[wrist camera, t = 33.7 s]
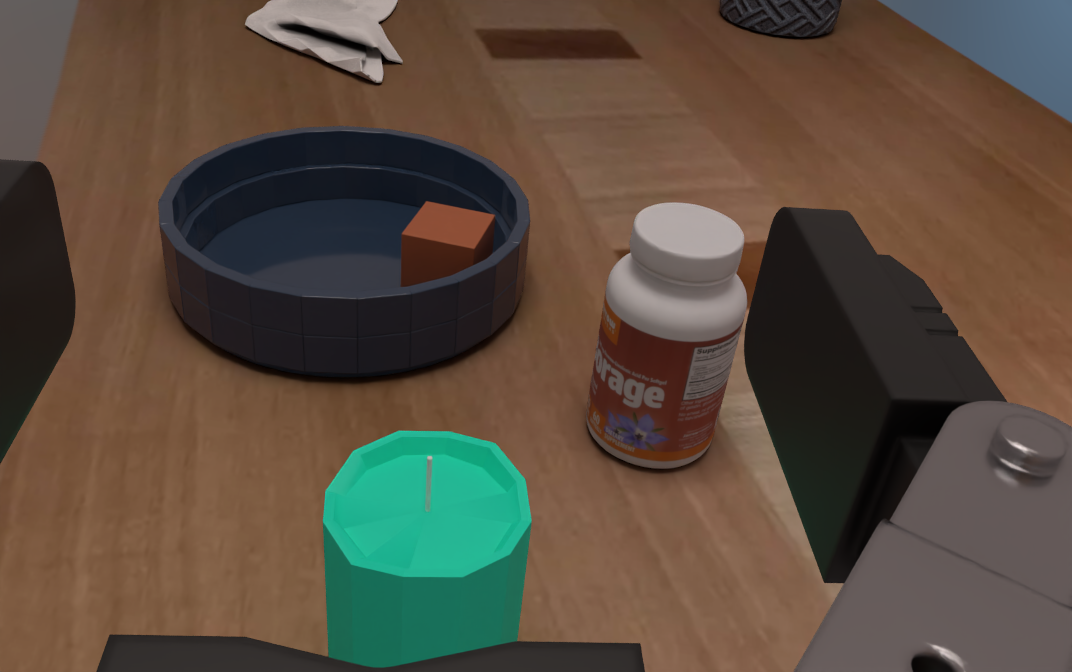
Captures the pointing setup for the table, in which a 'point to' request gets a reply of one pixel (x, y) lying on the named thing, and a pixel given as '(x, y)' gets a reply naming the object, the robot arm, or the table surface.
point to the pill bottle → (667, 336)
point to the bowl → (336, 250)
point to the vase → (783, 16)
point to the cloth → (331, 31)
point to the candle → (424, 549)
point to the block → (444, 242)
